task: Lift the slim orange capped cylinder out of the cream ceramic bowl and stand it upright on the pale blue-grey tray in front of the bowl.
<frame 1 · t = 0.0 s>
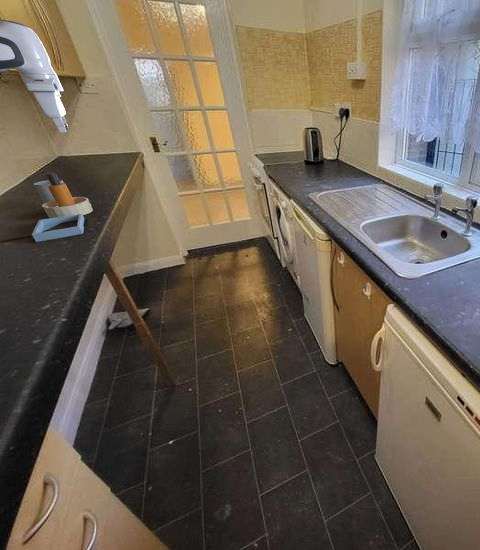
hand: (64, 130, 105), 29 cm above the worktop, tool pointing down, fingers open, 8 cm apart
cup: (62, 207, 123), on the worktop
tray: (62, 230, 102), on the worktop
orange capped cylinder: (71, 213, 115), point 1 cm above the worktop, touching bowl
bowl: (72, 214, 115), on the worktop
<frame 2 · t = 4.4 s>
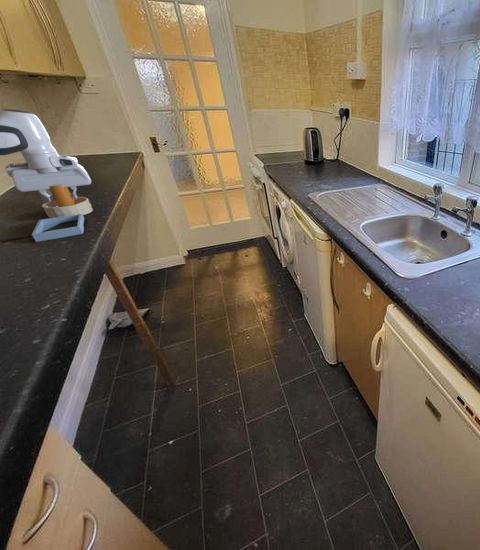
hand: (64, 199, 112), 6 cm above the worktop, tool pointing down, fingers closed on orange capped cylinder, 5 cm apart
orange capped cylinder: (71, 213, 115), point 1 cm above the worktop, touching bowl, gripper
everything else where it was.
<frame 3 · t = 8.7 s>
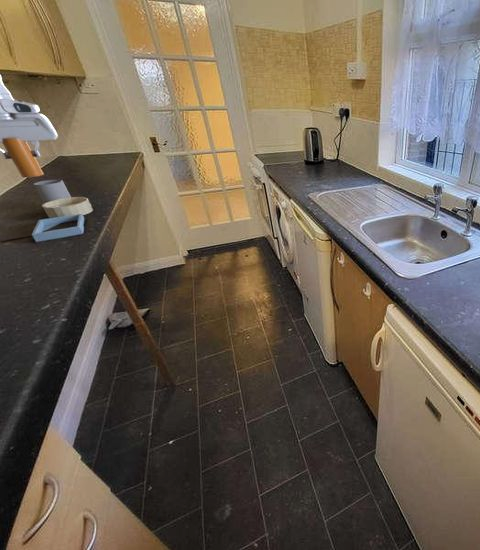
hand: (23, 157, 91), 24 cm above the worktop, tool pointing down, fingers closed on orange capped cylinder, 5 cm apart
orange capped cylinder: (33, 175, 93), point 18 cm above the worktop, touching gripper
everything else where it was.
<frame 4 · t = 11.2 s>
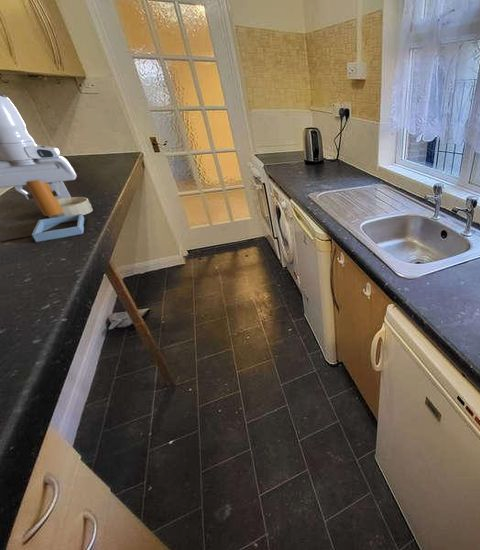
hand: (44, 197, 96), 11 cm above the worktop, tool pointing down, fingers closed on orange capped cylinder, 5 cm apart
orange capped cylinder: (53, 213, 99), point 6 cm above the worktop, touching gripper
everything else where it was.
when the fingers open (6 cm above the worktop, at t = 13.0 s): orange capped cylinder stays where it is, resting on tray.
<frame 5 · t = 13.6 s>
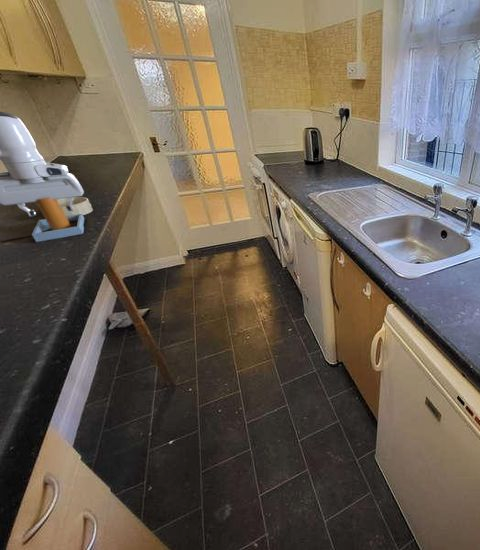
hand: (52, 213, 99), 6 cm above the worktop, tool pointing down, fingers open, 8 cm apart
orange capped cylinder: (61, 228, 102), point 1 cm above the worktop, touching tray
everything else where it was.
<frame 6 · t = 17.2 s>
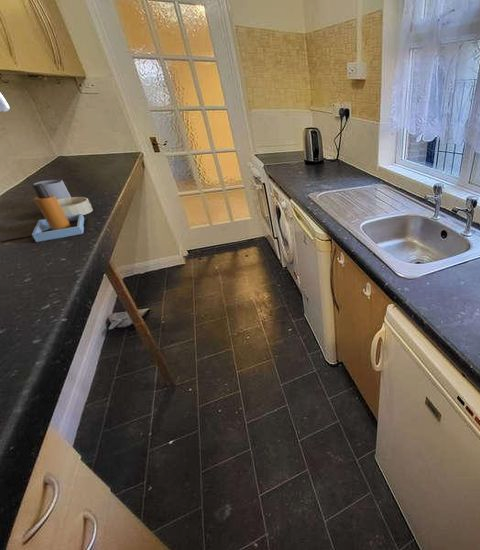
nothing on the worktop moved.
at the end: orange capped cylinder inside the target area in the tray (0.0 cm from its centre), point 0.6 cm above the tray's base; orange capped cylinder tilted 0°; the gripper is holding nothing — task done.
